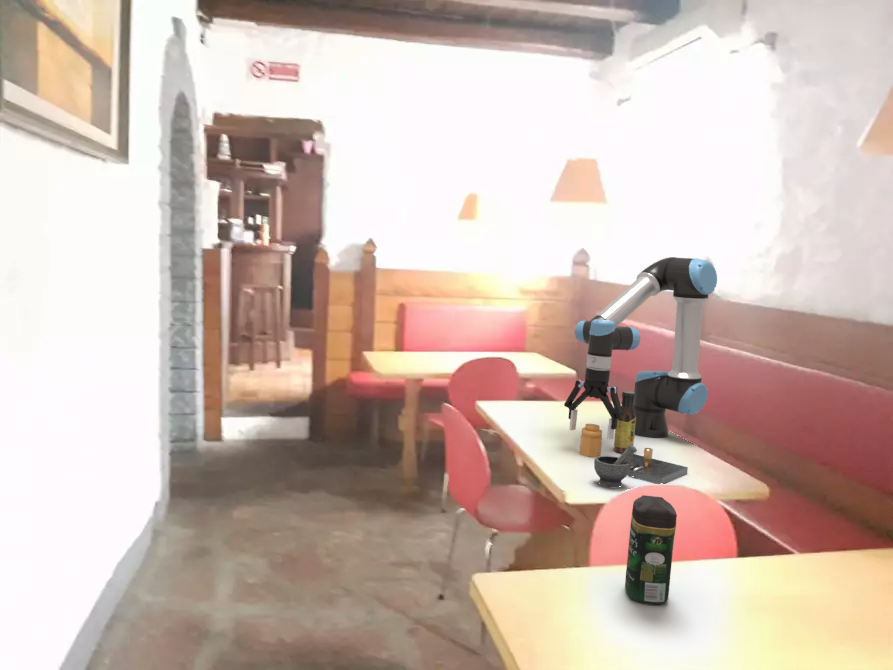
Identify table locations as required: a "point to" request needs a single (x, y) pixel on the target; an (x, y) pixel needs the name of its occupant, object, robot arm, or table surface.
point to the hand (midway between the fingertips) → (590, 434)
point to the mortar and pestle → (613, 467)
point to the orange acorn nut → (591, 441)
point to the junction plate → (654, 468)
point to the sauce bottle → (625, 423)
